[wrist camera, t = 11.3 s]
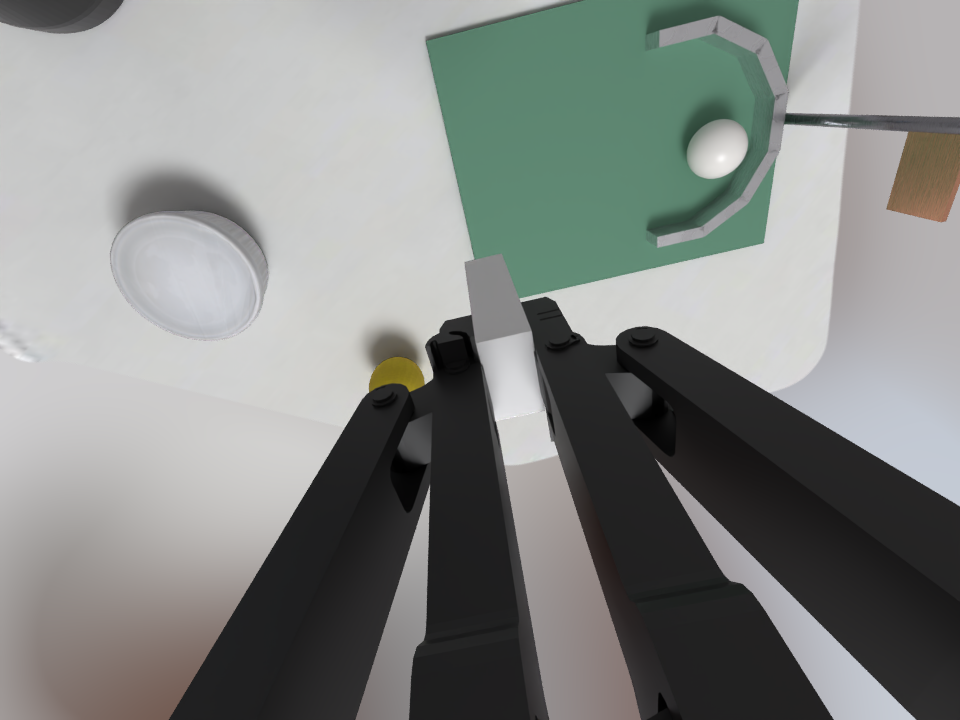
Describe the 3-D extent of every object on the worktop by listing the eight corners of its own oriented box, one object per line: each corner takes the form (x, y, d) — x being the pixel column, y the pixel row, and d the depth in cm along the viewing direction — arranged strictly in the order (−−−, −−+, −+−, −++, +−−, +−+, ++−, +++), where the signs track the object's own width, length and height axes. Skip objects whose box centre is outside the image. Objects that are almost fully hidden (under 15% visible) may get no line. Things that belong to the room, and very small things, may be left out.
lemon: (388, 335, 44) (378, 377, 38) (435, 357, 46) (433, 401, 39) (366, 373, 47) (353, 420, 40) (411, 393, 48) (406, 441, 42)
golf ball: (676, 128, 34) (726, 129, 31) (712, 111, 36) (765, 111, 32) (673, 183, 37) (720, 189, 34) (707, 166, 38) (755, 171, 35)
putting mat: (426, 42, 32) (425, 41, 31) (801, -55, 31) (807, -58, 30) (484, 303, 43) (485, 305, 43) (760, 241, 42) (763, 243, 42)
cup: (645, 35, 32) (793, -16, 19) (797, -4, 32) (1065, -85, 18) (646, 240, 41) (748, 309, 27) (767, 212, 40) (934, 268, 26)
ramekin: (304, 285, 41) (287, 308, 37) (215, 335, 43) (188, 362, 39) (218, 174, 36) (185, 185, 31) (120, 237, 38) (76, 255, 33)
